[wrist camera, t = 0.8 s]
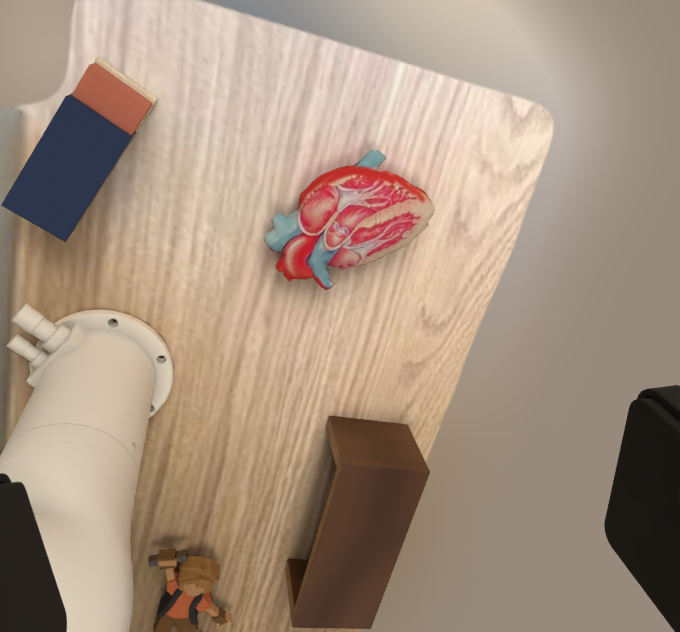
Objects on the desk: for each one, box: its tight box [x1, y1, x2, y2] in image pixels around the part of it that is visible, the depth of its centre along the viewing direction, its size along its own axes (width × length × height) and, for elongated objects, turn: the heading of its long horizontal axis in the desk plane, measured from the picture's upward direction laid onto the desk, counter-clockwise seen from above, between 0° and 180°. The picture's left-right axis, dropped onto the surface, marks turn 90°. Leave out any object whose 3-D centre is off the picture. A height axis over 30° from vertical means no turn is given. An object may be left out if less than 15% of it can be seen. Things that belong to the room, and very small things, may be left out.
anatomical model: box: [264, 150, 434, 290], centre depth 53 cm, size 9×15×4 cm, turn 119°
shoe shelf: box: [285, 416, 430, 629], centre depth 66 cm, size 9×22×8 cm, turn 165°
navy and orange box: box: [2, 58, 157, 241], centre depth 47 cm, size 13×5×5 cm, turn 142°
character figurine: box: [148, 549, 232, 632], centre depth 70 cm, size 12×5×18 cm
